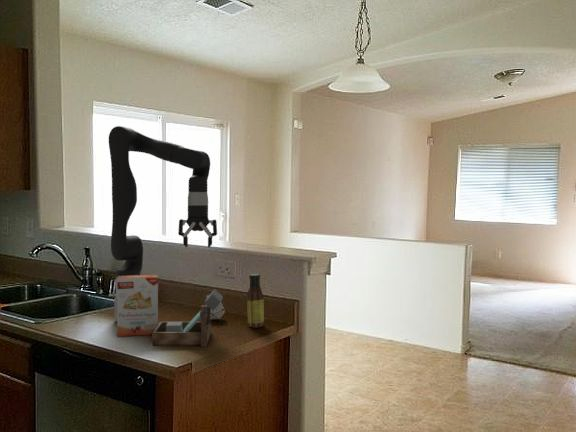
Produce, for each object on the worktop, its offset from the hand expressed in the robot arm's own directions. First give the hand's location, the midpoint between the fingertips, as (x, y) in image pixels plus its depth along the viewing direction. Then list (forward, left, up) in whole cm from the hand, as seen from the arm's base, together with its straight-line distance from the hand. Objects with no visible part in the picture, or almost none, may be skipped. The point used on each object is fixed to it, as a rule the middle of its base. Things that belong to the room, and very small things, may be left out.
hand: (197, 246), depth 198 cm
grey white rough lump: (+6, +8, -30) cm, 32 cm away
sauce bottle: (+22, -1, -30) cm, 37 cm away
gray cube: (-3, -18, -27) cm, 33 cm away
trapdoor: (+4, -18, -23) cm, 29 cm away
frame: (-3, -18, -30) cm, 35 cm away
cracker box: (-20, -11, -30) cm, 38 cm away
